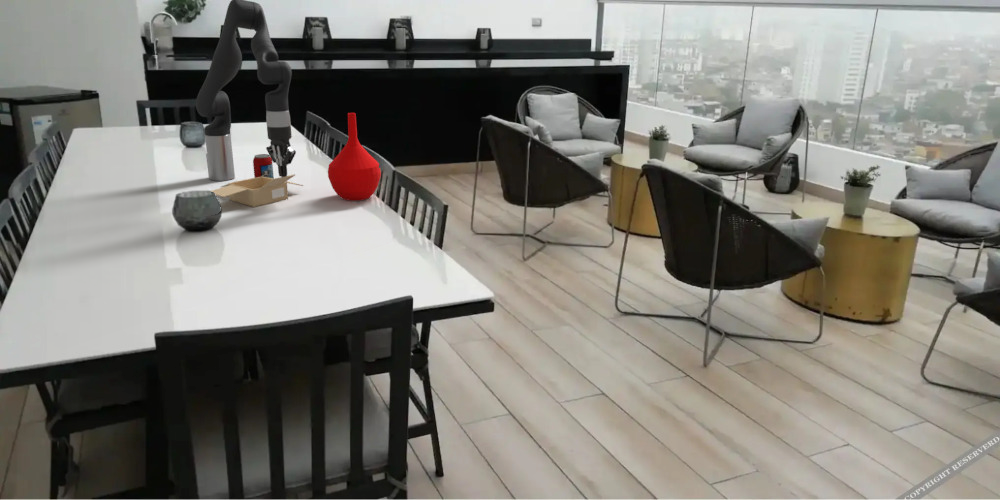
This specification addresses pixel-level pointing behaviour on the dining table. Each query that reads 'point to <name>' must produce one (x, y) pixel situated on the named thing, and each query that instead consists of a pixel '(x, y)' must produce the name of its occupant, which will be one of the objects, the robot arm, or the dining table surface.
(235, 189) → the right flap
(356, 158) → the vase
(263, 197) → the carton
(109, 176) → the dining table surface
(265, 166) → the beverage can
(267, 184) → the front flap
